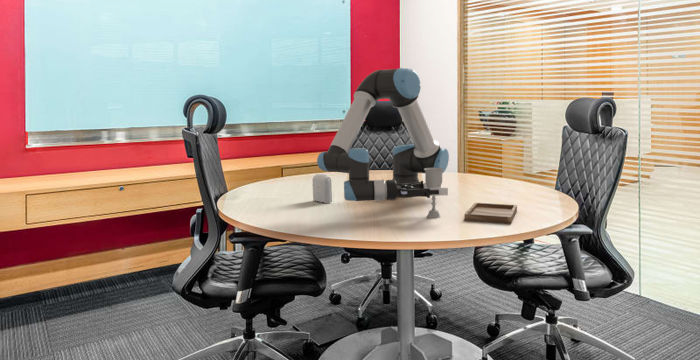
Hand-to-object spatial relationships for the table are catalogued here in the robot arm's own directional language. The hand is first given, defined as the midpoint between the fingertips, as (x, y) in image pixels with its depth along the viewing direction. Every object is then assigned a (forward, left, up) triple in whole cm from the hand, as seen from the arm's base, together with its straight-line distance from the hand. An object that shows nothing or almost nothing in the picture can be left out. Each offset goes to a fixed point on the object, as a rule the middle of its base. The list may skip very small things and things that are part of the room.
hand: (444, 188), depth 188 cm
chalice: (+2, -3, -11) cm, 11 cm away
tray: (-6, +17, -11) cm, 21 cm away
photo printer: (-11, -56, -11) cm, 59 cm away
